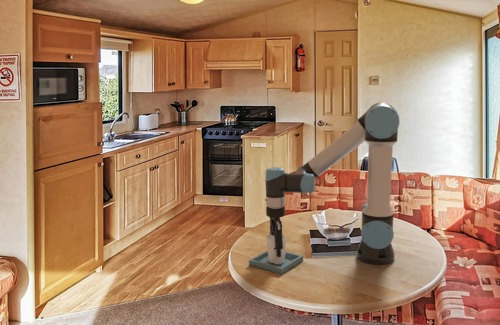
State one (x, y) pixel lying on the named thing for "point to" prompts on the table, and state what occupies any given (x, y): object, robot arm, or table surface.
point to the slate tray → (263, 263)
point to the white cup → (272, 245)
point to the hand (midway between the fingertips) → (276, 259)
